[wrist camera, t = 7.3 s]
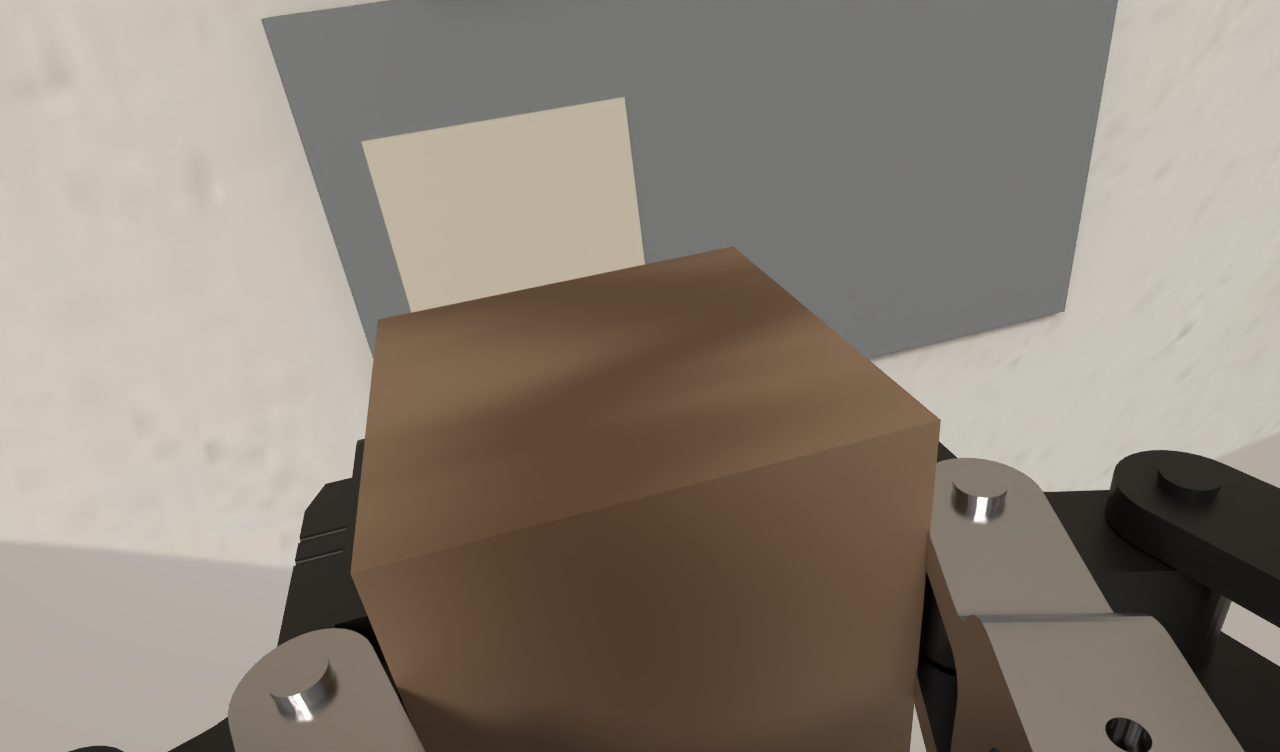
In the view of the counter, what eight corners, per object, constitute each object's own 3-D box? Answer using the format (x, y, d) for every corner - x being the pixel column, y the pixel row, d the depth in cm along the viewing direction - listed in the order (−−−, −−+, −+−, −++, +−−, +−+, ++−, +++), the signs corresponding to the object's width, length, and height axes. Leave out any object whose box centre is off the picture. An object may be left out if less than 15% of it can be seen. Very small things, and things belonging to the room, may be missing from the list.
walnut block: (733, 246, 11) (940, 420, 7) (749, 516, 13) (908, 772, 9) (377, 319, 10) (350, 573, 6) (464, 593, 12) (489, 915, 8)
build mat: (1117, -102, 20) (1138, -104, 20) (1051, 304, 26) (1066, 312, 26) (265, 17, 17) (260, 19, 16) (409, 457, 23) (409, 470, 22)
